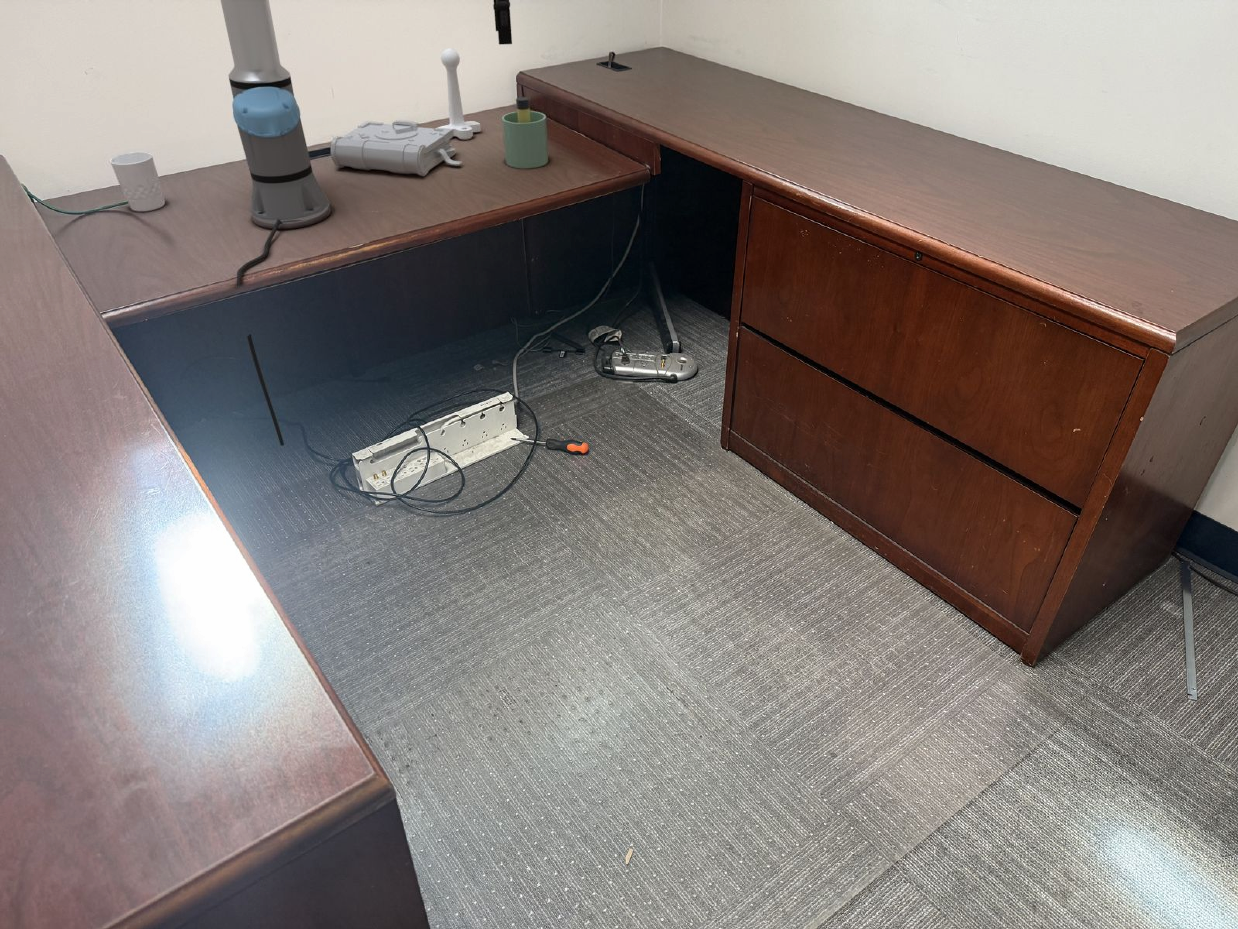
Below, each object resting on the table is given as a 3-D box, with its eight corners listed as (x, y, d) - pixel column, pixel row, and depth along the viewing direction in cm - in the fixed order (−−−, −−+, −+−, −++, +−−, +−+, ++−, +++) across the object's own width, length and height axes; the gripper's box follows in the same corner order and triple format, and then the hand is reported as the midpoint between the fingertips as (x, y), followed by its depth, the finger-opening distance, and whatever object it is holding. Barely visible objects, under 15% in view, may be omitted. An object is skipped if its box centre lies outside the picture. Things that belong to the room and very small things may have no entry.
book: (442, 181, 188) (438, 146, 184) (330, 169, 194) (323, 135, 190) (476, 156, 203) (473, 123, 199) (371, 145, 209) (366, 113, 204)
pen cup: (550, 166, 196) (547, 122, 189) (507, 169, 194) (503, 124, 188) (546, 153, 203) (543, 109, 197) (504, 155, 202) (500, 111, 196)
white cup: (153, 214, 174) (135, 165, 168) (119, 211, 176) (100, 162, 170) (176, 200, 180) (160, 152, 174) (143, 197, 182) (126, 150, 176)
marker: (533, 158, 197) (529, 99, 189) (520, 159, 197) (516, 100, 189) (532, 154, 200) (528, 96, 192) (520, 155, 199) (515, 97, 191)
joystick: (472, 128, 219) (464, 44, 207) (488, 135, 215) (480, 49, 203) (434, 136, 214) (424, 49, 202) (449, 143, 209) (440, 55, 197)
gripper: (518, -74, 159) (525, 49, 172) (510, -87, 178) (517, 25, 191) (478, -74, 158) (488, 50, 171) (474, -87, 177) (483, 25, 190)
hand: (503, 37), depth 181 cm, fingers open, 13 cm apart
